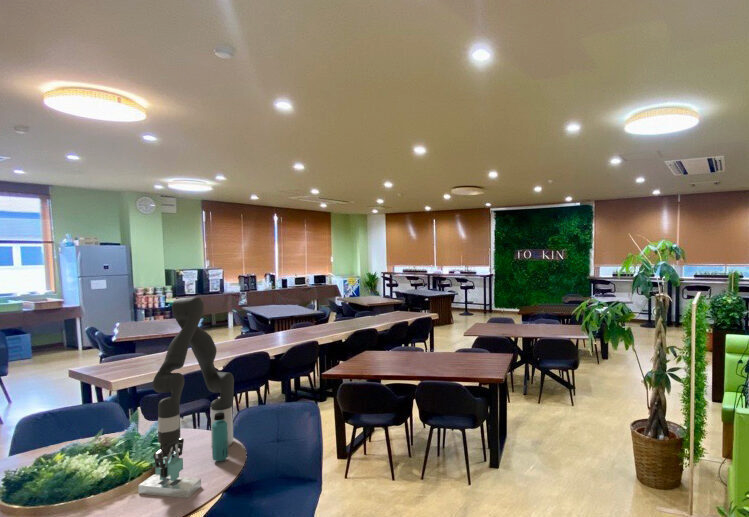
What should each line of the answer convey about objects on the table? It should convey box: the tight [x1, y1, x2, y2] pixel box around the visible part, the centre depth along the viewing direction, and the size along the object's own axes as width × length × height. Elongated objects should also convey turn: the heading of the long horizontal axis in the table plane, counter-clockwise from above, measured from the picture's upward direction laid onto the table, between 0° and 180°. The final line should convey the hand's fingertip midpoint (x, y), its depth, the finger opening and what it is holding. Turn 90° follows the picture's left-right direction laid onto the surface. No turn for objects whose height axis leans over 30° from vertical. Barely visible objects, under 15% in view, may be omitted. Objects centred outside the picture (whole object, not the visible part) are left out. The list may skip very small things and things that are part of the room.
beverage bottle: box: [211, 413, 229, 462], centre depth 179 cm, size 6×7×20 cm
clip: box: [154, 456, 184, 481], centre depth 156 cm, size 8×5×6 cm
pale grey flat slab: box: [137, 474, 202, 499], centre depth 156 cm, size 8×20×3 cm, turn 79°
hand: (169, 473), depth 156 cm, fingers closed on clip, 5 cm apart
